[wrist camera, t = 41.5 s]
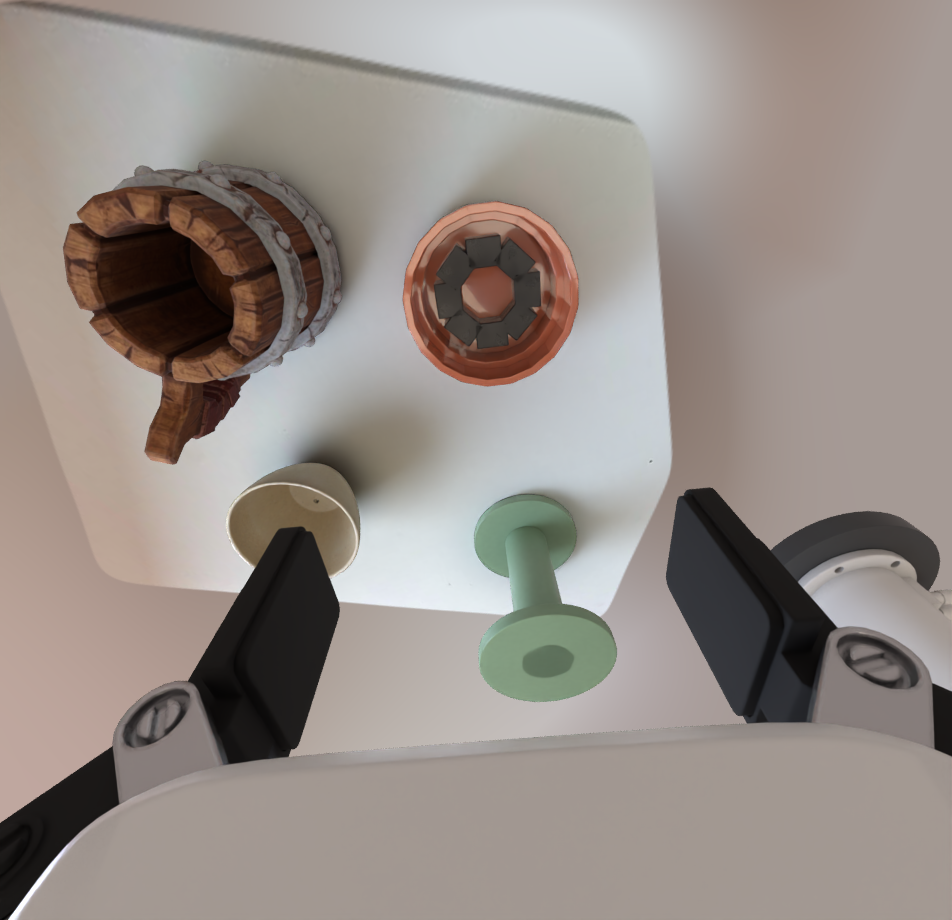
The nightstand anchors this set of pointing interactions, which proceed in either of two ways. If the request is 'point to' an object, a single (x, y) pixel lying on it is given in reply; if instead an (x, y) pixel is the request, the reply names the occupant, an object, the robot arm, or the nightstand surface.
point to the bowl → (492, 294)
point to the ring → (483, 255)
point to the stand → (538, 606)
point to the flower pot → (298, 514)
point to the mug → (202, 284)
